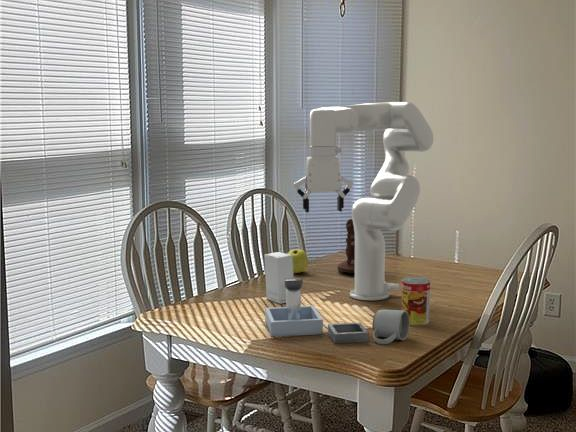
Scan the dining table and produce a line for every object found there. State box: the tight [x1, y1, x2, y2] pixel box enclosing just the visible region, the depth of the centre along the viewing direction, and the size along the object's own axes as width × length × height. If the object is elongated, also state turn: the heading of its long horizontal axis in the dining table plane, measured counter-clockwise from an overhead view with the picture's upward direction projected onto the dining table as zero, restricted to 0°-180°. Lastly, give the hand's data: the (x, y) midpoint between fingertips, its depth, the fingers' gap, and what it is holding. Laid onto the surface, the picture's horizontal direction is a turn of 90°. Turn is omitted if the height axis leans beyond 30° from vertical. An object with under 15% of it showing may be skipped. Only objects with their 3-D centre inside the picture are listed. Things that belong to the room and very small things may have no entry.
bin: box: [264, 305, 324, 337], centre depth 208 cm, size 14×14×4 cm
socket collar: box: [327, 322, 370, 345], centre depth 199 cm, size 9×9×2 cm
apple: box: [286, 248, 309, 274], centre depth 273 cm, size 8×8×10 cm
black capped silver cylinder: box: [284, 276, 304, 320], centre depth 208 cm, size 5×5×13 cm
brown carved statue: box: [337, 218, 355, 274], centre depth 272 cm, size 15×15×20 cm
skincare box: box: [263, 251, 294, 304], centre depth 236 cm, size 8×6×15 cm
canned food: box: [401, 276, 431, 326], centre depth 212 cm, size 8×8×12 cm
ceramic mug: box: [371, 309, 411, 345], centre depth 197 cm, size 11×8×8 cm
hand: (323, 211), depth 218 cm, fingers open, 9 cm apart
